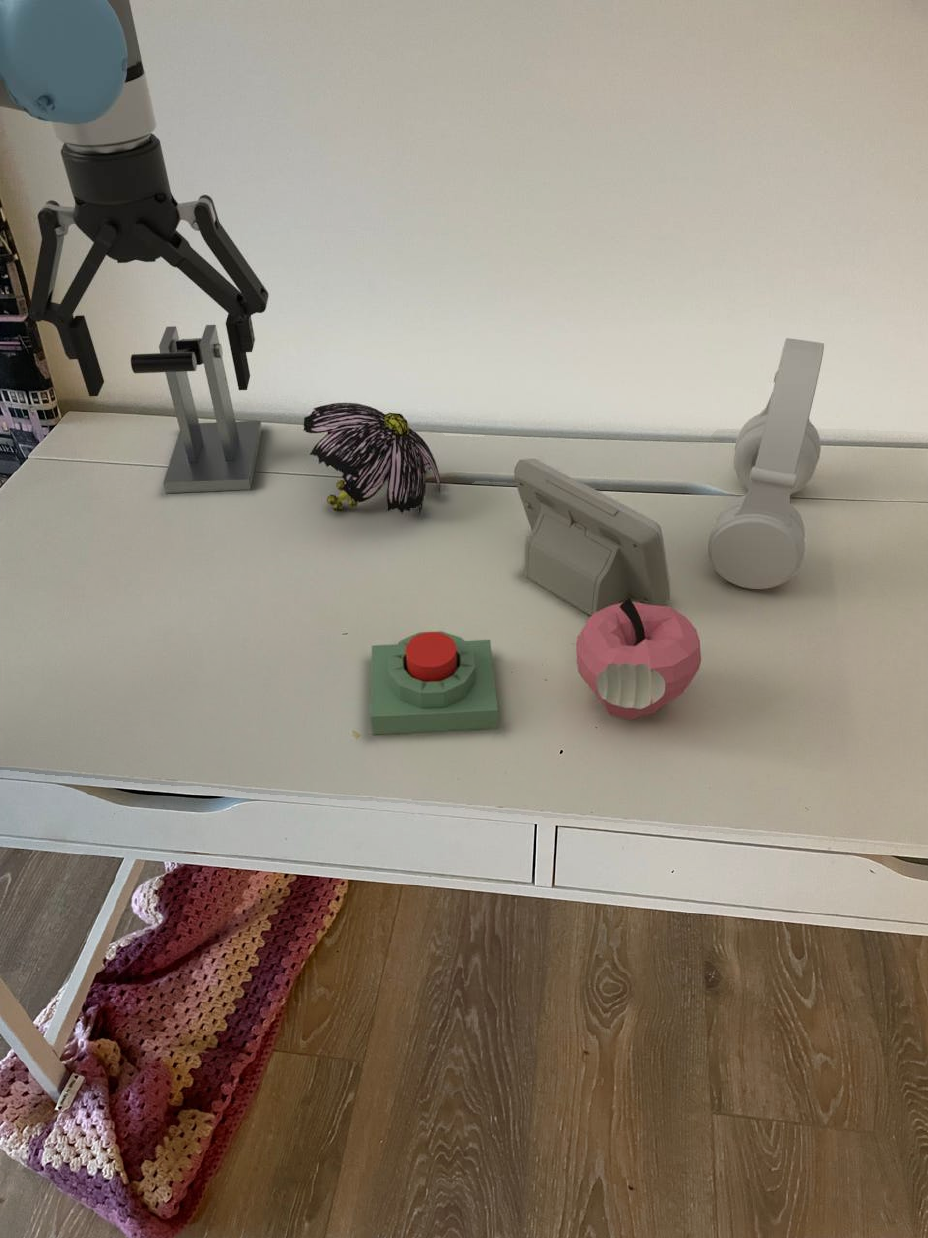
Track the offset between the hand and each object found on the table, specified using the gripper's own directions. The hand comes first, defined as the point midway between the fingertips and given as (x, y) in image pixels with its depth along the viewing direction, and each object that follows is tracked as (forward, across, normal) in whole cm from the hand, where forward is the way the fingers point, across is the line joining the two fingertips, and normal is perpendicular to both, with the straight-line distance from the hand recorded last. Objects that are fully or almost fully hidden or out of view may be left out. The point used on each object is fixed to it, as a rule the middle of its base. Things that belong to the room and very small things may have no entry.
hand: (171, 386), depth 87 cm
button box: (+14, -23, +27) cm, 38 cm away
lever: (+1, 0, -5) cm, 5 cm away
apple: (+15, -39, +29) cm, 51 cm away
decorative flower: (+15, -18, -1) cm, 23 cm away
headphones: (+15, -56, +7) cm, 58 cm away
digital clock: (+15, -38, +13) cm, 43 cm away
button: (+11, -23, +27) cm, 37 cm away
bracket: (+14, 0, -10) cm, 18 cm away
